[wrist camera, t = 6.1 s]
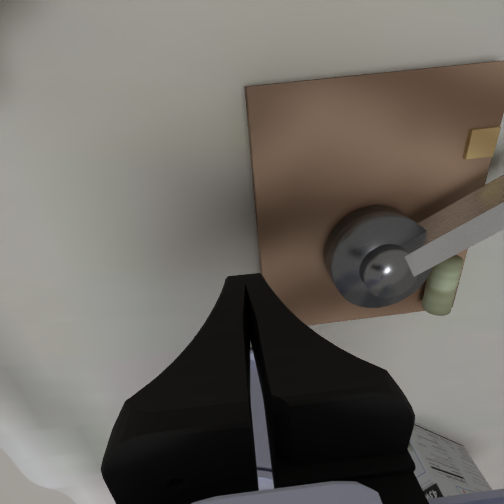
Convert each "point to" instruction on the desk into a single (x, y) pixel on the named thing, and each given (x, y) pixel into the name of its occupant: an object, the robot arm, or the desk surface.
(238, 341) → the robot arm
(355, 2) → the desk surface
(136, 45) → the desk surface
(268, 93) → the base
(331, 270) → the grey lever handle
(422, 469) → the light bulb box
